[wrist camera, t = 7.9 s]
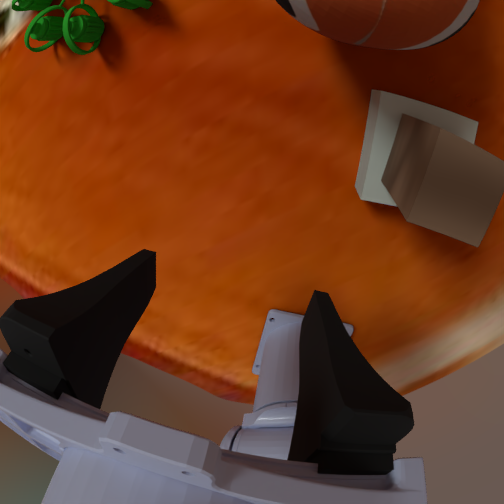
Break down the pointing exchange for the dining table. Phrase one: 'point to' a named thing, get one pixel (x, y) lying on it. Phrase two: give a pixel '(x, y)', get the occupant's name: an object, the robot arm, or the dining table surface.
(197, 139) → the dining table surface
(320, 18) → the toy
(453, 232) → the walnut block
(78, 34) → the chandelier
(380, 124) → the sage slab
